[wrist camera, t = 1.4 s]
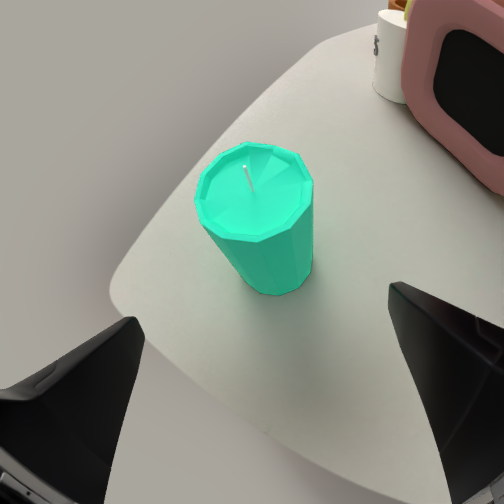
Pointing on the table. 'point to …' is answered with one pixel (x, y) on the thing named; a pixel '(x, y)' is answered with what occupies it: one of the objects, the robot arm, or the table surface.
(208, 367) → the table surface
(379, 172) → the table surface
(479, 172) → the alarm clock
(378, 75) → the candle
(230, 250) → the candle
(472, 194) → the table surface
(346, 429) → the table surface
